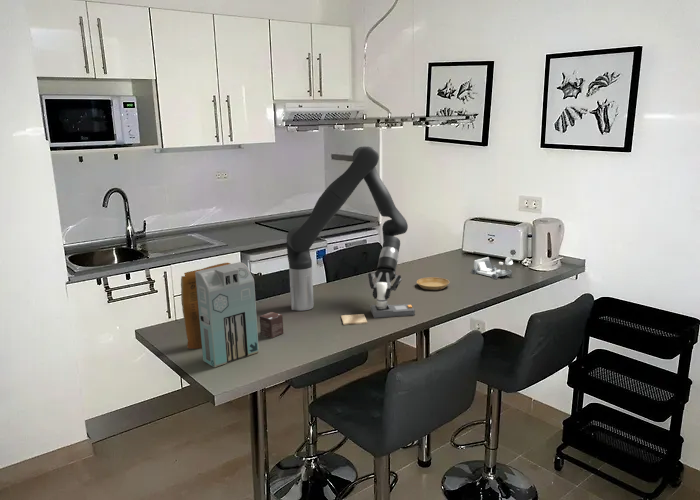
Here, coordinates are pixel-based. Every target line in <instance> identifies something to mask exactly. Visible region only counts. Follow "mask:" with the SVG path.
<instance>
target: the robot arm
mask: <svg viewBox="0 0 700 500" xmlns="http://www.w3.org/2000/svg"><path fill="white" fill-rule="evenodd" d="M352 153H353V154H352V162H351V164H350V165H349V166H348V168H347V169H346V170H345V171H344V172H343V173H342V174H341V175H339V176H338V177H337V178H335V180H333V181H332V183H330V184H329V185H328V186H327V187H326V189H325V190H324V191H323V192H322V193H321V195H320V196H319V198H318V200H317V201H316V203H315V205H314V207H313V209H312V211H311V213H310V216H308V218H307V219H306V221H305V222H304V223H303V224H302V225H301V226H294V227H292V228H291V229H289V231H288V232H287V234H286V251H287V253H286V254H287V260H288V267H289V268H288V270H289V271H288V272H289V289H290V291H289V292H290V305H291V306H290V307H291V309H290V310H291V311H299V312H300V311H301V312H302V311H308V310H309V311H310V310H311V309H314V302H315V301H314V284H313V282H314V280H313V261H312V257H311V251H310V248H311V247H312V246H313V244H314V243H315V241H316V239H317V238H318V236H319V235H320V234H321V232H322V231H323V229H324V228H325V227H326V226H327V224H329V223H330V221H331V220H332V219H333V218H334V216H335V215H336V214H337V213H338V212H339V211H340V209H341V208H342V207H343V205H344V204H346V201H347V200H349V198H350V196H351V195H352V194H353V193H354V191H355V190H356V189H357V187H358V186H359V185H360V183H361V182H362V181H363V180H364V182H365V184H366V185H367V187H368V190H369V192H370V194H371V196H372V198H373V201H374V204H375V206H376V208H377V210H378V213H379V214H380V216H381V217H384V218H385V217H386V218H390V219H388V220H386V221H384V222H383V224H382V240H383V242H382V247H381V250H380V254H379V258H378V261H377V262H378V263H377V267H376V271H375V272H374V273H371V272H369V273H368V274H367V275H368V283H369V286H370V289H372V290H373V291H372V297H373V298H374V299H373V300H375V299H376V300H377V282H386V283H387V289H386V294H385V299H386V300H387V301H388V299H389V298H390V296H391V292H392V291H394V292H395V291H396V290H398V289H397V288H398V287H399V286H400V283H401V282H402V280H403V279H402V276H401V275H397V274H396V271H397V267H398V266H397V265H398V261H399V252H400V246H401V239H400V238H398V237H396V236H399V235H404V234H406V233H407V231H408V227H409V226H408V221H407V219H406V218H405V217H404V216H403V215H402V213H401V212H400V211H399V209H398V208H397V207H396V204H395V202H394V200H393V198H392V195H391V193H390V191H389V190H388V188H387V187H386V185H385V184H384V182H383V180H382V179H381V177H380V175H379V173H378V170H377V167H376V166H377V165H378V163H379V158H380V155H379V152H378V151H377V150H376V149H375V148H374V147H372V146H360V147H359V146H358V147H357V148H356V149H355V150H354V151H353V152H352ZM375 278H376V279H375ZM374 279H375V283H374ZM392 281H394V282H393V283H392Z"/></svg>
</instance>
